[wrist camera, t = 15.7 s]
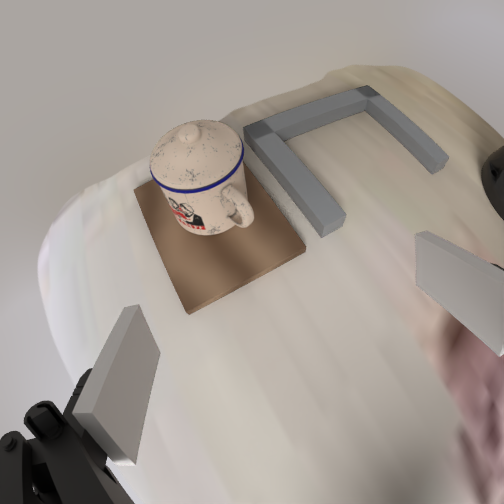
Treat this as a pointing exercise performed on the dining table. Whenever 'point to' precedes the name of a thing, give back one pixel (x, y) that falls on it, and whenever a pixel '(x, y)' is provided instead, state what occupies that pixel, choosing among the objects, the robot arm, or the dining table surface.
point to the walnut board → (218, 246)
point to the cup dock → (316, 115)
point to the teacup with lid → (203, 176)
